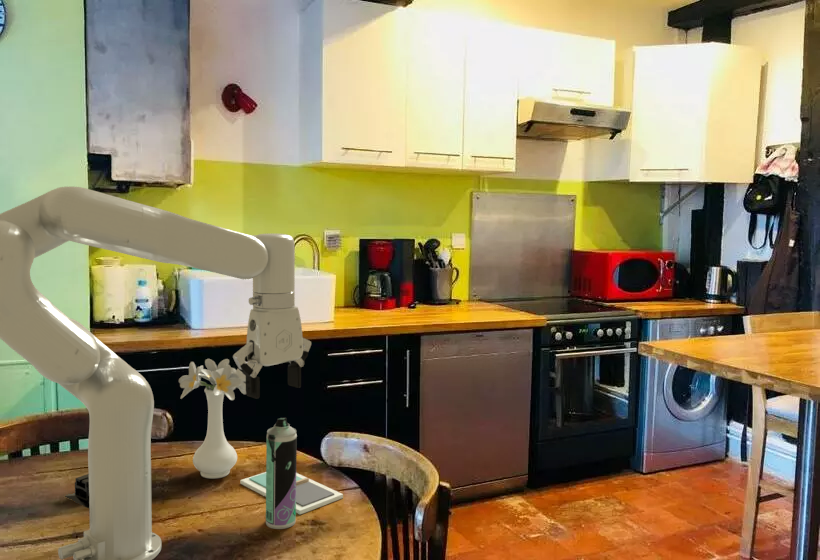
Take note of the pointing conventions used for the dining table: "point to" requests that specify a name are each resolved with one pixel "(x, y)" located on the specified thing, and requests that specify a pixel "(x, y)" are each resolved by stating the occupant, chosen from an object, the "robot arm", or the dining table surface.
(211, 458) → the flower vase
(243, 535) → the dining table surface
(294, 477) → the spray can
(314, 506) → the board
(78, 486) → the black angular piece
